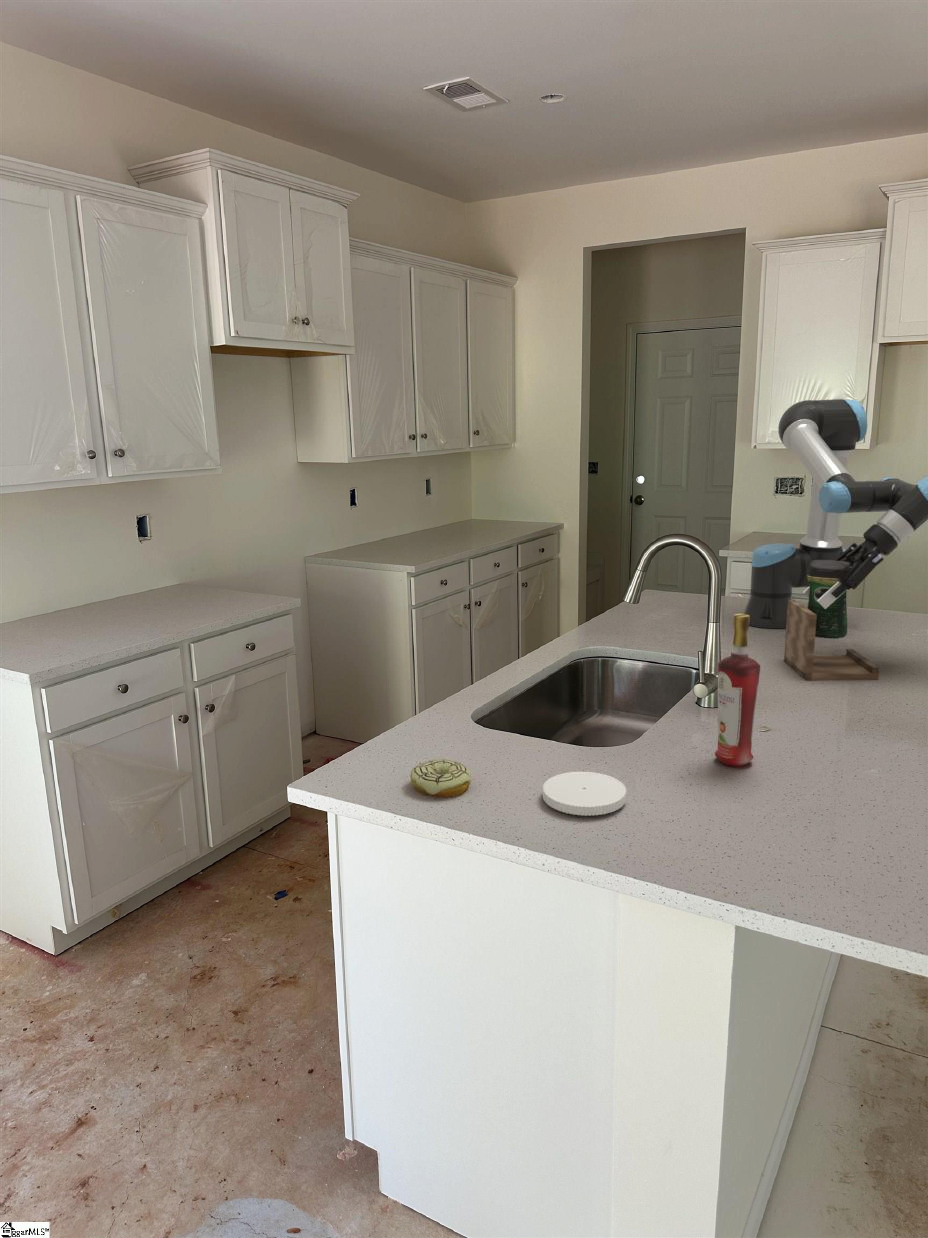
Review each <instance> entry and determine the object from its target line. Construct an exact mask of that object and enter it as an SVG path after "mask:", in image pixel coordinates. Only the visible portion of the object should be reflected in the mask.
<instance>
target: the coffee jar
mask: <svg viewBox="0 0 928 1238" xmlns="http://www.w3.org/2000/svg"><path fill="white" fill-rule="evenodd" d="M850 568H851V567H850V563H849V562H844V561H835V560H814V561H812V562H811V563H810V566H809V571H808V575H807V578H808V582H809V598H808V603H807V607H806V608H807V609H809V610H810V611H812V612H813V613H815V614H816V615H817V618H816V631H815V638H819V639H820V638H821V639H831V640H833V639H837V640H838V639H840V638H841V639H843V638H845V637H846V636H847V634H848V608H847V596H848V594H847V593H848V589H847V590H846V591H845V592H844V593H843V594H842V595H841V596H840V597H838V598H837V599H836V600H835V601H834V602H833V603H832V604H831V605H830V606H828V607H827V608H826V609H824V608H823V607H822V605H821V604H820V603H819V602H818V601H817V600H818V599H819V598H820V597H821V596H823V595H824V594H825V593H826V592H827V591H828V590H829V589H830V588H831V587H832V586H834V585H835V584H836V583H837V582H840V581H839V579H842V578H844V577H845V575H846V574H847V572H848V571H849V570H850ZM840 583H841V582H840ZM841 584H842V583H841Z"/></svg>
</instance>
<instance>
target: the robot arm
mask: <svg viewBox="0 0 928 1238" xmlns="http://www.w3.org/2000/svg"><path fill="white" fill-rule="evenodd" d="M777 429H778V431H777V432H778V436H779V439H780V441H781V443H782V444H783V446H784V447H785V449H788V450H789V451H790V452H791V451H792V452H793V453H794V454H795V456H796V458H798V460H799V461H800V462H801V464H802V465H803V466H804V468H805V469H806V471H807V472H808V473H809V475H810V476H811V477H812V486H811V493H810V501H809V510H808V517H807V518H808V519H807V527H806V535H805V536H804V537H802V538H801V539H800V540H799V547H797V548H796V547H795V545H794V544H793V543H789V542H787V543H786V542H783V543H782V542H781V543H779V542H778V543H769V544H764V545H759V546H758V547H756V548H755V549H754V550H753V553H752V560H751V562H750V563H751V576H750V578H751V579H750V594H749V595H750V596H749V599H748V601H747V604H746V606H745V609H744V611H743V613H742V614H747V615H749V616H750V618H749V626H751V627H755V628H763V629H786V623H787V608H788V600H793V597H792V594H793V589H796V588H797V589H798V588H801V589H802V588H806V589H804V590H803V594H804V595H805V596H807V598H808V599H809V582H808V578H807V575H808V571H809V566H810V563H811V562H812V561H814V560H835V561H844V562H849V563H850V570H849V571H848V572H847V574H846V575H845V577H844V578H842V579H839V581H840V582H841V583H842V584H841V583H840V582H837V583H836V584H835V585H834V586H832V587H831V588H830V589H829V590H828V591H827V592H826V593H825V594H824V595H823V596H821V597H820V598H819V599H818V600H817V601H818V602H819V603H820V604H821V605H822V607H823V608H824V609H826V608H827V607H828V606H830V605H831V604H832V603H833V602H834V601H835V600H836V599H837V598H838V597H840V596H841V595H842V594H843V593H844V592H845V591H846V590H847V591H848V590H851V589H852V590H856V589H857V588H858V586H859V585H860V584H862V582H863V581H864V580H865V579H866V578H867V577H868V576H869V575H870V573H872V572H873V570H874V569H875V568H876V567H877V566H878V565H879V564H881V563H882V562H884V557H882V556H881V555H883V556H885V557H888V556H889V555H890V554H891V553H892V552H893V551H894V550H895V549H897V547H898V545H899V544H902V543H903V542H904V541H905V540H906V539H910V537H911V535H912V534H913V533H914V532H915V531H916V530H917V529H919V528H920V527H921V526H922V525H923V524H924V523H926V522H927V521H928V477H924V478H923V479H922V480H920V481H918V482H917V483H916V484H913V483H910V482H906V481H904V480H903V479H900V478H897V477H896V478H895V477H884V478H882V479H880V480H862V481H859V480H858V481H856V480H855V479H854V477H853V476H852V475H851V474H850V473H849V471H848V470H847V469H848V461H849V456H850V454H851V453H853V452H855V451H856V446H857V443H860V442H861V441H863V440H864V438H865V436H866V435H867V432H868V417H867V412H866V410H865V408H864V406H863V404H862V403H861V402H860V401H858V400H854V399H844V398H838V399H818V400H817V399H816V400H813V399H812V400H811V399H809V400H807V399H806V400H801V401H798V402H796V403H794V404H792V405H791V406H790V407H788V408H787V409H786V410H785V411H784V412H783V414H782V416H781V417H780V420H779V422H778V427H777ZM878 512H885V513H884V514H883V515H881V516H880V517H879V518H878V519H877V520H876V523H875V524H872V525H870V527H869V528H867V530H866V531H864V533H863V534H862V536H863V539H864V541H863V542H862V543H860V544H857V543H856V542H853V543H852V544H851V545H850V546H848V548H847V549H845V547H843V542H842V541H841V540H840V539H839V530H840V523H841V515H842V514H848V513H849V514H850V513H878Z"/></svg>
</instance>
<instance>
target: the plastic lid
mask: <svg viewBox="0 0 928 1238" xmlns="http://www.w3.org/2000/svg"><path fill="white" fill-rule="evenodd" d="M542 799H543V801H544V802H545V804H547V806H548V807H550V808H552V809H553V810H556V811H559V812H562V813H565V814H570V815H573V816H575V815H577V816H585V817H587V816H589V817H590V816H599V815H600V816H601V815H606V814H609V813H611V814H612V812H615V811H617V810H620V809H621V808H622V807H623V806H624V805H625V804H626V802H627V787H626V785H625V784H624V783H623V782H621V780H618V778H617V779H616V777H613V776H611V775H608V774H604V773H601V772H600V773H599V772H594V771H593V772H591V771H568V772H562V773H559V774H556V775H554V776H551V777H550V778H549V779H547V780H546V781H544V783H543V785H542Z"/></svg>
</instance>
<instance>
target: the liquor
mask: <svg viewBox="0 0 928 1238" xmlns="http://www.w3.org/2000/svg"><path fill="white" fill-rule="evenodd" d="M749 618H750V616H749V615H747V614H743V613H735V614H733V631H734V632H733V639H732V645H731V652H730V655H729V656H726V657H724V658H723V659H721V660H720V661H718V662H717V710H718V711H717V749H716V750H715V752H714V756H715V757H716V759H718V760H719V761H720V762H721V763H722V764H723V765H725V766H727V767H731V768H739V767H744V766H746V765H748V763H750V762H751V761H753V759H754V755H753V753H752V746H753V737H754V735H753V734H754V724H755V717H756V708H757V707H756V706H757V699H758V693H759V684H760V683H759V681H760V674H761V673H760V672H761V665H760V663H758V662H757V661H756V660H755V659H753V658H751V657H749V649H748V647H749V646H748V643H749V642H748V630H749V627H750V625H749Z"/></svg>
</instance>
